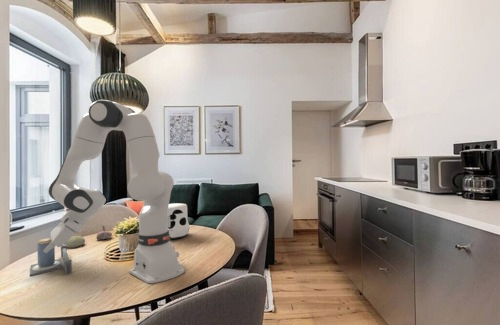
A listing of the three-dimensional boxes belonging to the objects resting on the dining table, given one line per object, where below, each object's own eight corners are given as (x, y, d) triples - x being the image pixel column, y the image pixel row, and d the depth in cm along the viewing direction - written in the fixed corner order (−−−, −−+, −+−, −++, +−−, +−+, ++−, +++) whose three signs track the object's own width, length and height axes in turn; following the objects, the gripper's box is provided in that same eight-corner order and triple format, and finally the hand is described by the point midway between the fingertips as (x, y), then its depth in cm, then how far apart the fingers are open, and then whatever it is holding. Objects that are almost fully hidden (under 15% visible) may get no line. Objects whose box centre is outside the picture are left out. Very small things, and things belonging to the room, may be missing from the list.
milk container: (186, 231, 155) (186, 202, 154) (191, 238, 139) (191, 206, 139) (157, 234, 148) (156, 204, 147) (159, 243, 132) (158, 209, 132)
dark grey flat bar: (71, 273, 97) (71, 260, 97) (65, 274, 96) (65, 261, 96) (66, 254, 117) (66, 244, 117) (61, 256, 116) (60, 245, 116)
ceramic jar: (55, 263, 103) (54, 239, 103) (37, 267, 99) (37, 242, 99) (54, 260, 107) (54, 236, 107) (37, 263, 104) (37, 239, 104)
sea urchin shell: (69, 246, 124) (64, 233, 127) (65, 255, 127) (59, 242, 130) (89, 241, 132) (83, 229, 135) (84, 249, 135) (79, 237, 138)
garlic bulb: (93, 241, 138) (93, 226, 138) (101, 237, 145) (101, 223, 145) (107, 241, 138) (107, 226, 138) (114, 237, 145) (114, 223, 145)
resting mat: (62, 268, 102) (62, 266, 102) (30, 276, 95) (29, 274, 95) (60, 260, 111) (60, 258, 111) (30, 266, 105) (30, 264, 105)
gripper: (64, 214, 116) (37, 239, 109) (68, 221, 100) (36, 252, 94) (76, 222, 118) (50, 247, 112) (81, 230, 103) (52, 260, 97)
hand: (44, 249), depth 103 cm, fingers open, 6 cm apart
